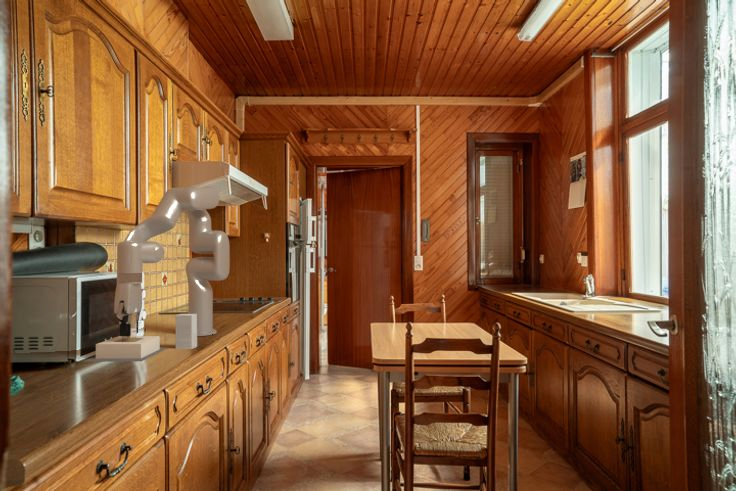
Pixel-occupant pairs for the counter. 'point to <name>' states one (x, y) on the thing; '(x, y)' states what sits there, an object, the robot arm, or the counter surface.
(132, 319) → the sprinkles bottle
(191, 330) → the skincare box
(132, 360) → the slate mat
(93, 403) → the counter surface
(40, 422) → the counter surface
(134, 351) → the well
